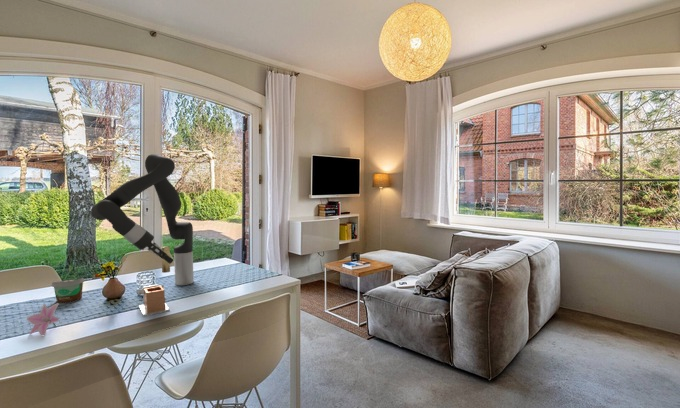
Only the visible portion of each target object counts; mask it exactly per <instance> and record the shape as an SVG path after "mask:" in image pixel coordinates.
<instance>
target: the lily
mask: <svg viewBox="0 0 680 408" xmlns="http://www.w3.org/2000/svg"><path fill="white" fill-rule="evenodd" d="M59 305H60V303H57V302H56V303H55V304H52V305H51V306H50V307H47V306H46V304H43V305H42V307H41V310H40V312H39V313H35V314H32V315H30V316H28V317H27V318H26V320H27V321H28V322H29V323H30V324H32V325H33V326H32V328H31V330H30V332H29V335H32V334H34V333H36V332H37V331H38V334H39V335H40V336H41V335H44V336H45V335H46V332H47V331H48V327H49V325H51V324H53V325H54V327H55V326H56V327H57V325H56V324H55V323H57V322H59V321H60V319H59V318H58V316H56V315H54V314H55V311H57V308H58V306H59Z"/></svg>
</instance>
